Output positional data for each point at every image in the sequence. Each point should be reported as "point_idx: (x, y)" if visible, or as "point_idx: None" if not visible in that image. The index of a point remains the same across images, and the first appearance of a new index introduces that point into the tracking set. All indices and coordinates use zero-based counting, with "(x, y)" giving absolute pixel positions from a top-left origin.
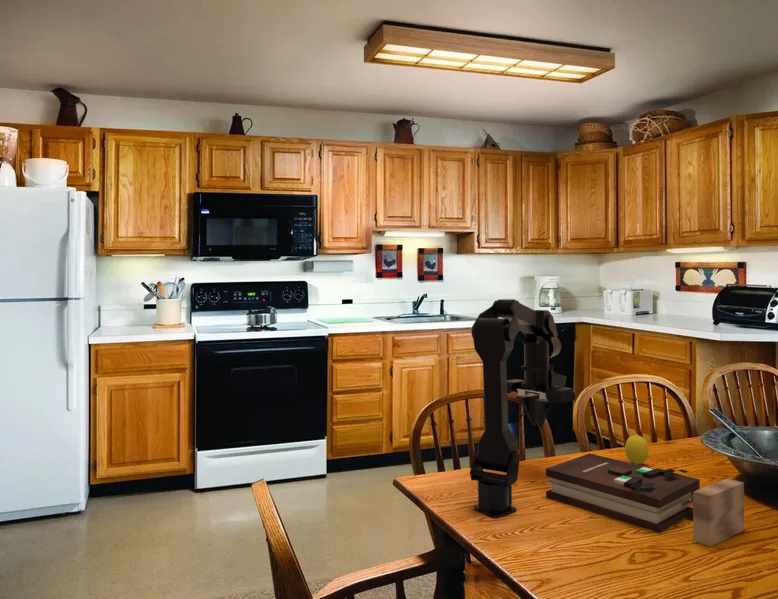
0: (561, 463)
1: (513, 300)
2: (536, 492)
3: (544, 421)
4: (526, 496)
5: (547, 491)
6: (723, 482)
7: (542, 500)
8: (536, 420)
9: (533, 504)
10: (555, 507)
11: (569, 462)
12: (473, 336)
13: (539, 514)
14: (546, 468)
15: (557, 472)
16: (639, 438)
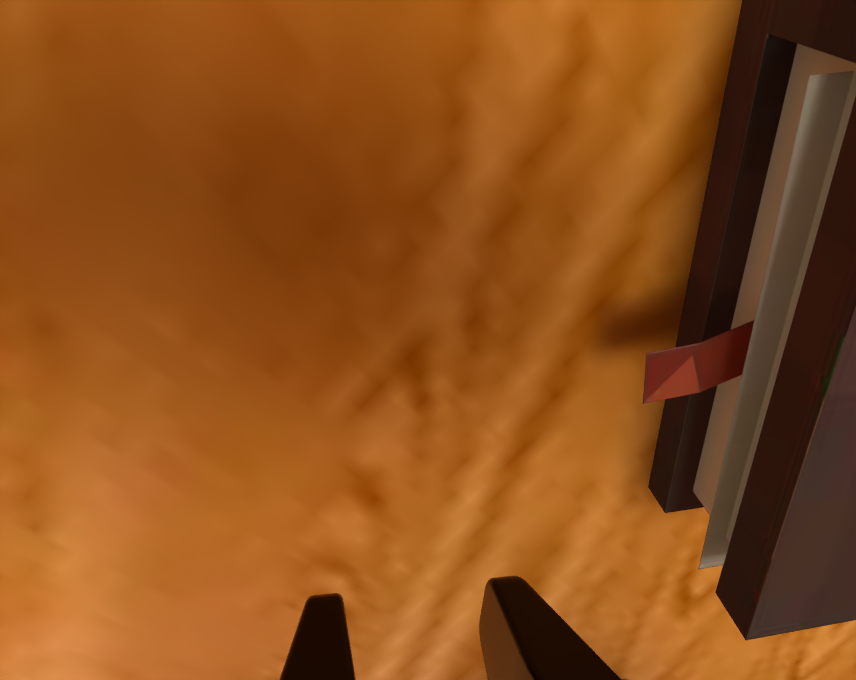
0: (801, 493)
1: None
2: (562, 480)
3: (585, 645)
4: (555, 555)
5: (672, 507)
6: None
7: (656, 528)
8: (350, 655)
9: (647, 588)
10: None
11: (852, 427)
12: None
13: (728, 629)
14: (750, 636)
15: (839, 618)
16: None
